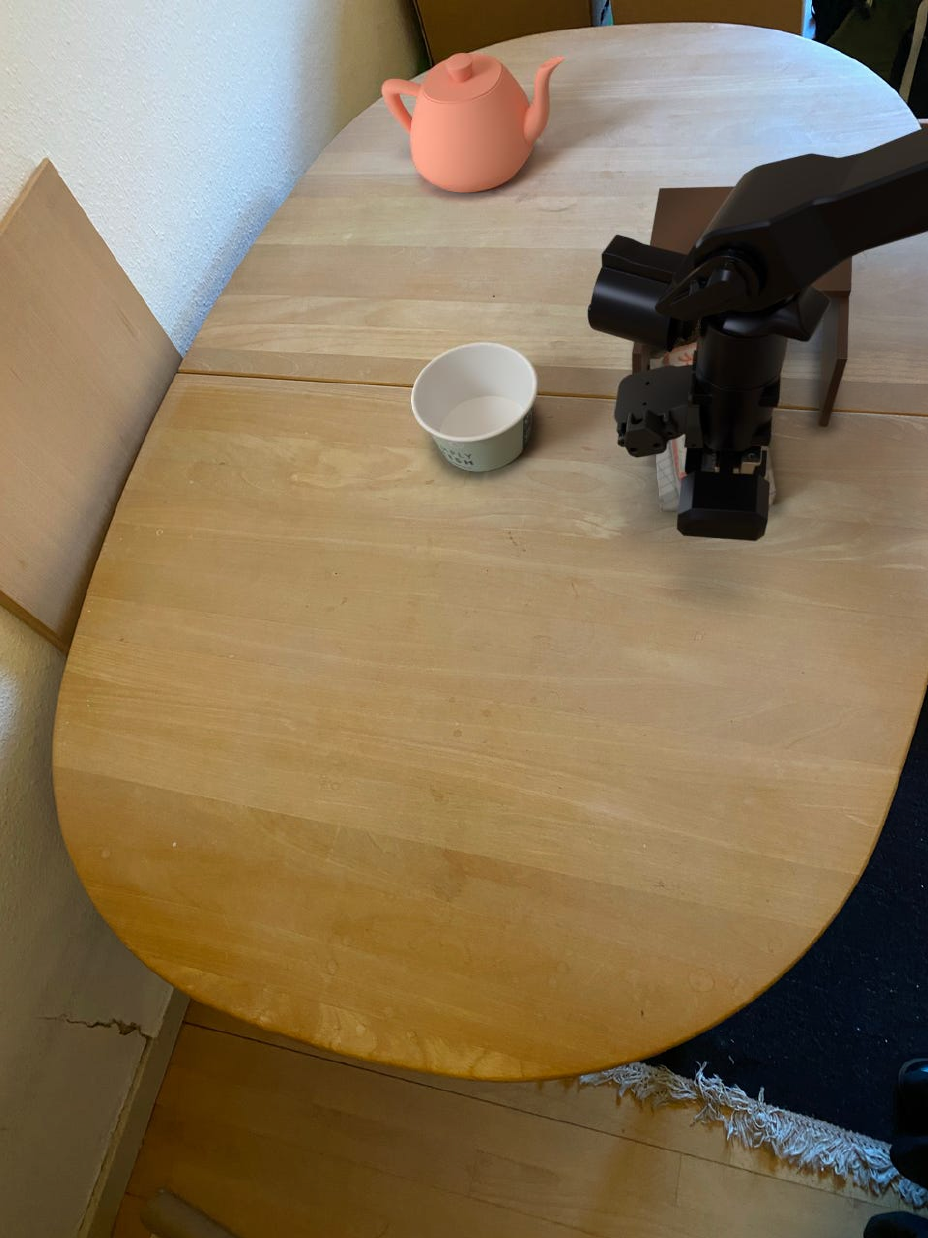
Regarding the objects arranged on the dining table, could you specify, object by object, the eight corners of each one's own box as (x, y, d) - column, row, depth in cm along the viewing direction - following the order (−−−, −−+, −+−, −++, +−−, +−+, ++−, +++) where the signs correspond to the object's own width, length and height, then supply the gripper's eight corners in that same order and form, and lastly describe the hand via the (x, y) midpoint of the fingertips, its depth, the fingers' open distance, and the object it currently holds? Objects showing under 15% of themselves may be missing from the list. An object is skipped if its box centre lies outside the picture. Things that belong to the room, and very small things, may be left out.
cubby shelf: (833, 266, 85) (854, 182, 77) (827, 426, 76) (849, 351, 68) (657, 266, 89) (659, 187, 81) (632, 417, 81) (631, 346, 73)
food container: (405, 463, 83) (387, 420, 78) (460, 376, 87) (447, 329, 82) (511, 498, 79) (502, 454, 73) (564, 404, 83) (559, 356, 77)
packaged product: (784, 475, 69) (660, 484, 71) (775, 508, 73) (659, 516, 75) (758, 317, 77) (648, 329, 79) (752, 356, 81) (648, 366, 83)
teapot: (583, 122, 103) (577, 14, 92) (557, 204, 97) (547, 98, 86) (417, 124, 109) (393, 23, 98) (383, 202, 103) (353, 103, 92)
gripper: (636, 266, 64) (635, 408, 77) (604, 460, 55) (610, 580, 69) (791, 265, 61) (762, 412, 74) (781, 469, 53) (751, 592, 66)
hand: (718, 495), depth 71 cm, fingers closed
